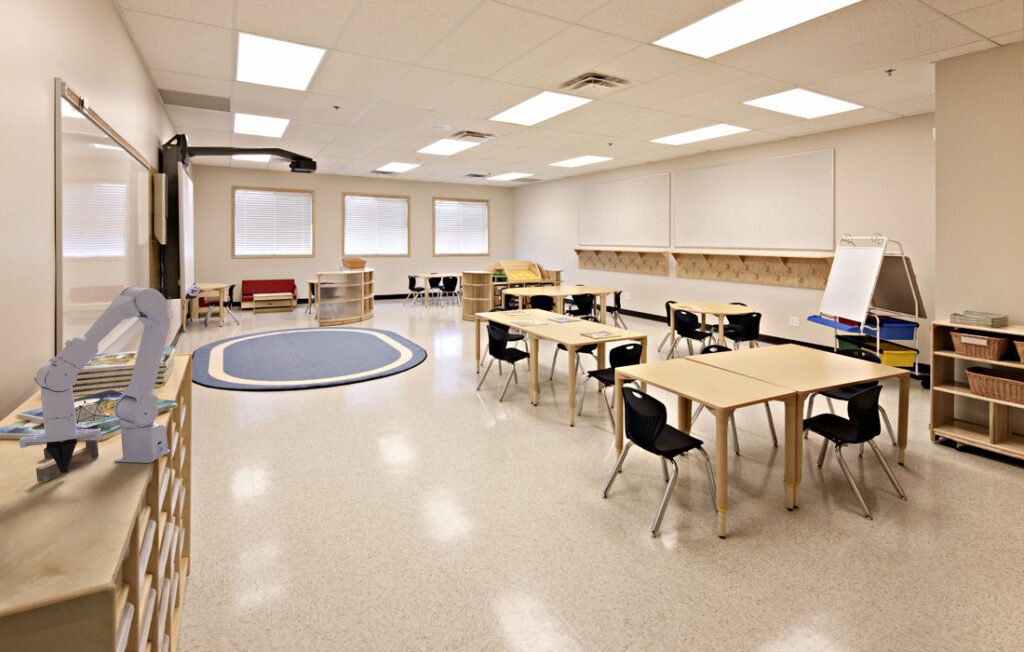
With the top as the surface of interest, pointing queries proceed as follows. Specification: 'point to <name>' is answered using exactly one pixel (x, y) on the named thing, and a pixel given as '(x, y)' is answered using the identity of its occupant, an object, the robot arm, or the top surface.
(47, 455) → the block
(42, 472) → the gate
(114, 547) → the top surface
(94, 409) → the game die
